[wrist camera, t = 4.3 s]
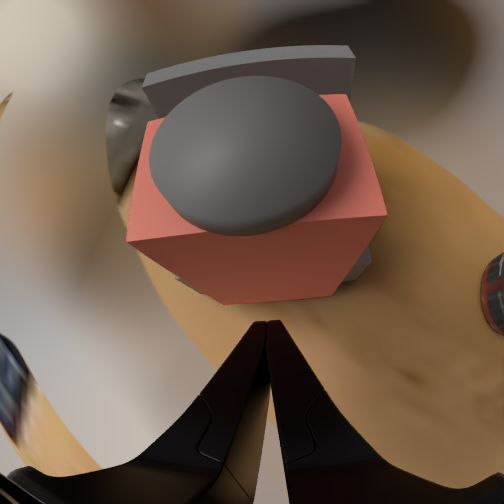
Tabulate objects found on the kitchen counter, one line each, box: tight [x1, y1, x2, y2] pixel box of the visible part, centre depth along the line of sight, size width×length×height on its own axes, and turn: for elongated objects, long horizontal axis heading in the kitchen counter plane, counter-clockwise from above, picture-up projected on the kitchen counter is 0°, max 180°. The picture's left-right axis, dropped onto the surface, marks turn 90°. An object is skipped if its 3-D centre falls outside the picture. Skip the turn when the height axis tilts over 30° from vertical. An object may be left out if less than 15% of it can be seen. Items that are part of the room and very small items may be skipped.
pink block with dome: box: [126, 76, 387, 305], centre depth 11 cm, size 4×6×11 cm
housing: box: [142, 45, 372, 294], centre depth 14 cm, size 8×10×10 cm
